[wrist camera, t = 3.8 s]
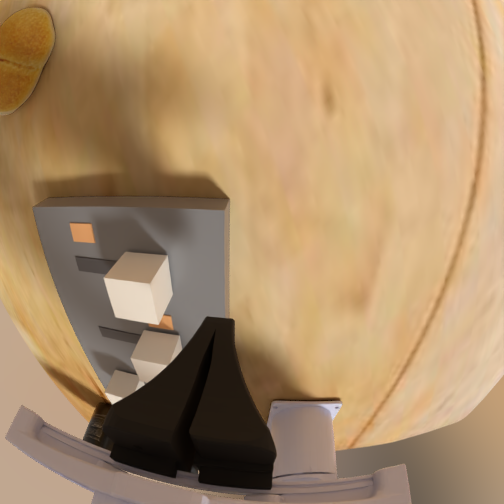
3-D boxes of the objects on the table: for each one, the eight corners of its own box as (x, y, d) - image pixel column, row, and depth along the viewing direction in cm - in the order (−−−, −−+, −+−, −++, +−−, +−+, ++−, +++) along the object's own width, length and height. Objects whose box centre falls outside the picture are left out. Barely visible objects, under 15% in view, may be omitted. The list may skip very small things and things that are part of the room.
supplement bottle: (99, 412, 36) (77, 468, 25) (95, 396, 33) (68, 459, 22) (136, 428, 37) (117, 486, 26) (136, 414, 33) (114, 481, 23)
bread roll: (75, 16, 11) (40, 8, 7) (29, 120, 15) (-6, 130, 11) (25, 4, 9) (-5, 1, 5) (-11, 92, 13) (-42, 99, 9)
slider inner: (148, 392, 25) (140, 414, 22) (123, 385, 25) (114, 407, 23) (141, 376, 24) (131, 400, 21) (115, 369, 24) (104, 392, 21)
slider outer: (172, 294, 18) (158, 324, 15) (133, 289, 18) (115, 317, 16) (167, 255, 17) (150, 283, 14) (125, 251, 17) (103, 277, 14)
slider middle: (184, 359, 21) (175, 388, 19) (151, 354, 22) (140, 381, 19) (179, 335, 20) (169, 365, 17) (143, 329, 20) (130, 358, 18)
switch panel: (230, 401, 28) (228, 417, 26) (112, 378, 29) (106, 391, 27) (229, 199, 17) (224, 211, 15) (48, 197, 17) (31, 207, 16)
